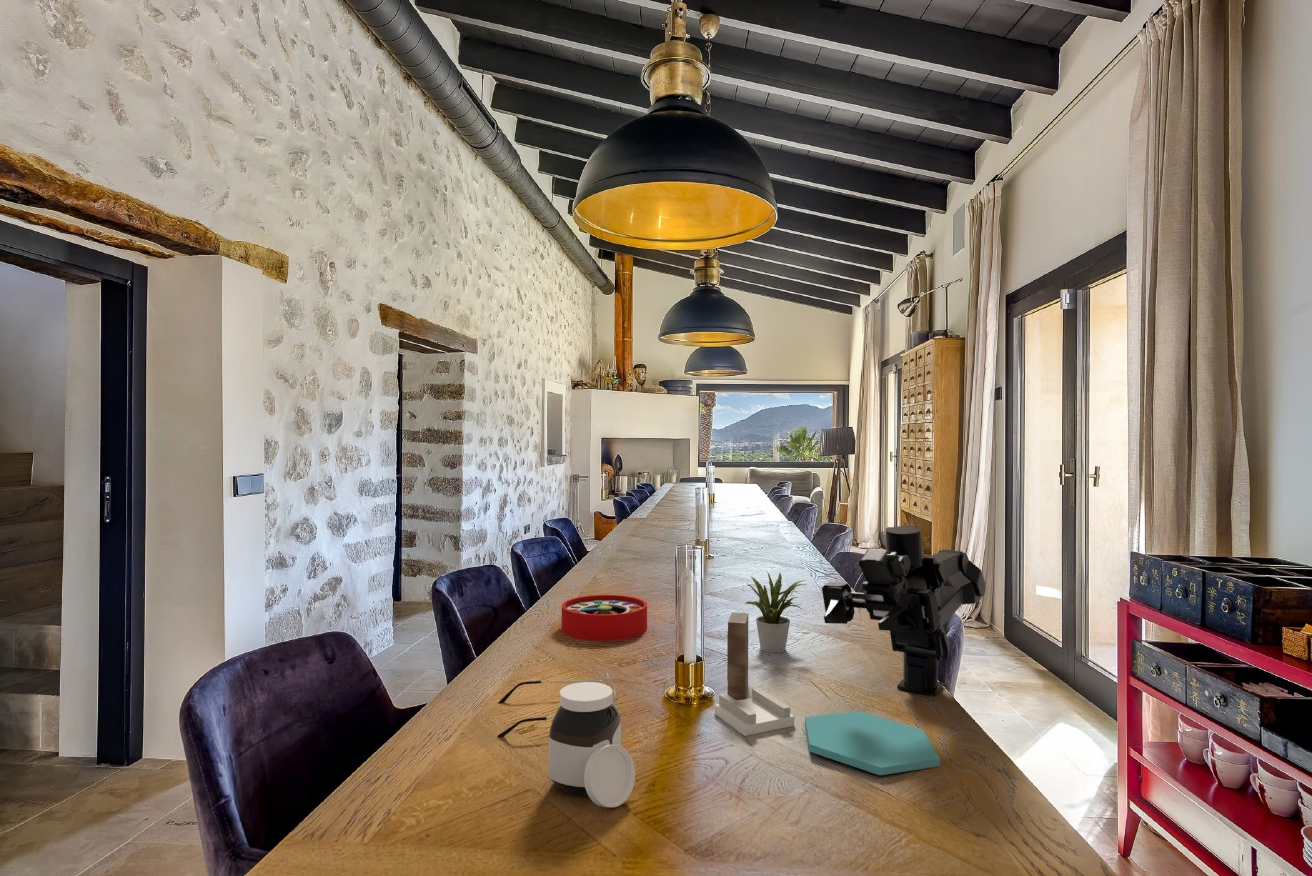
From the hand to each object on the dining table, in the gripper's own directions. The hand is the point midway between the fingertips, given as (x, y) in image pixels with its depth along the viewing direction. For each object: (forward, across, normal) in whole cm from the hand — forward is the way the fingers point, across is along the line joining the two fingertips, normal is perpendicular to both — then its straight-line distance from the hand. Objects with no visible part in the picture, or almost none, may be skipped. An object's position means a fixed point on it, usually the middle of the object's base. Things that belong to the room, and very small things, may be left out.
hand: (851, 623), depth 103 cm
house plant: (-22, -32, +17) cm, 43 cm away
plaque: (+5, +3, +17) cm, 18 cm away
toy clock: (-7, -70, +12) cm, 72 cm away
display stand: (+10, -14, +14) cm, 22 cm away
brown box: (+2, -23, +14) cm, 27 cm away
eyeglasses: (+30, -37, +9) cm, 49 cm away
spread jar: (+41, -15, +9) cm, 44 cm away
